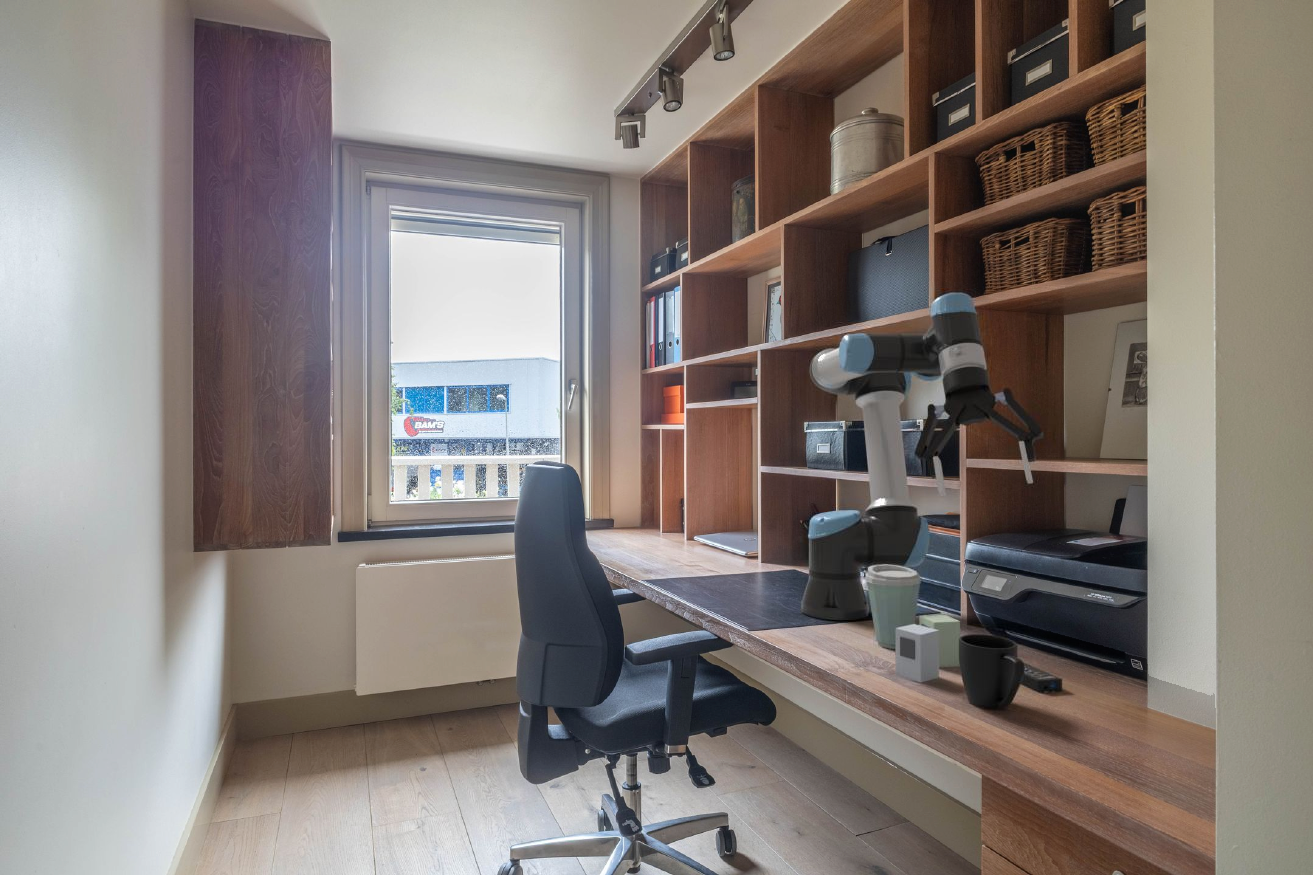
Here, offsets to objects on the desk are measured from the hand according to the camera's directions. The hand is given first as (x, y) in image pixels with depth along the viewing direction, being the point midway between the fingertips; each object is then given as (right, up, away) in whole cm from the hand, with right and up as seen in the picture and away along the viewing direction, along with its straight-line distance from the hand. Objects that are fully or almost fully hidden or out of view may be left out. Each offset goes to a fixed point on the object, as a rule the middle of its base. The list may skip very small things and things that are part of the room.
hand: (984, 488), depth 122 cm
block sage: (-4, -32, +10) cm, 34 cm away
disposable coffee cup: (-9, -32, +21) cm, 40 cm away
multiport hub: (+7, -33, 0) cm, 34 cm away
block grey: (-10, -32, +3) cm, 34 cm away
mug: (-4, -32, -12) cm, 35 cm away
